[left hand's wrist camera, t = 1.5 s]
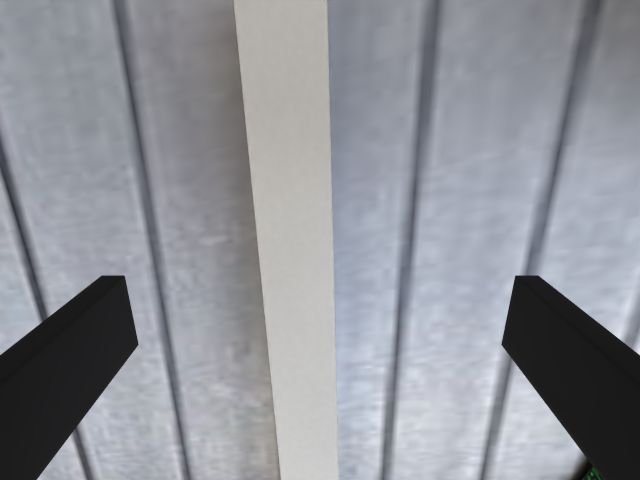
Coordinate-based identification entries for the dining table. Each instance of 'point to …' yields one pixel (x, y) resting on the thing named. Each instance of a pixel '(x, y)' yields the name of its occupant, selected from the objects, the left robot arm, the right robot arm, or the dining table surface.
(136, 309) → the dining table surface
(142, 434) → the dining table surface
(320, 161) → the beam
